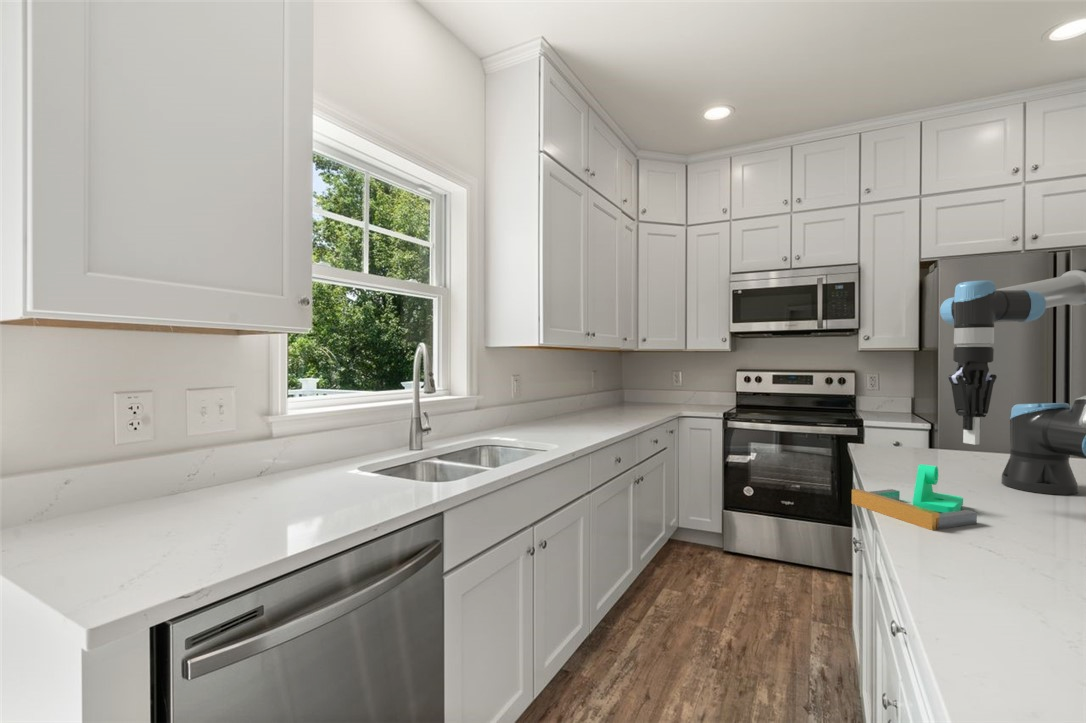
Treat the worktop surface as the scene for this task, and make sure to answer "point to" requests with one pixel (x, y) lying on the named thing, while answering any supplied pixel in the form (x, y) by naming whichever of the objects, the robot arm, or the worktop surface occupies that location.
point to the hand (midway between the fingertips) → (971, 443)
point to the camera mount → (927, 497)
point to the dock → (910, 510)
